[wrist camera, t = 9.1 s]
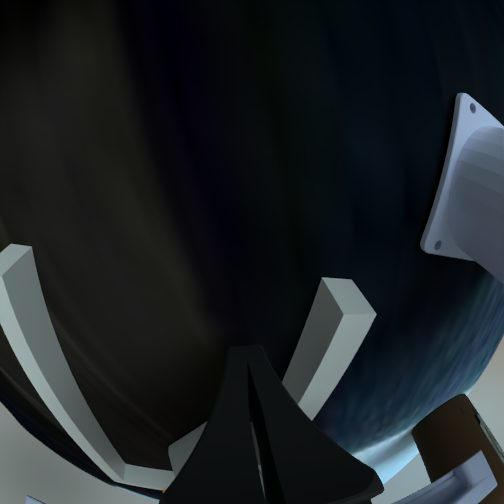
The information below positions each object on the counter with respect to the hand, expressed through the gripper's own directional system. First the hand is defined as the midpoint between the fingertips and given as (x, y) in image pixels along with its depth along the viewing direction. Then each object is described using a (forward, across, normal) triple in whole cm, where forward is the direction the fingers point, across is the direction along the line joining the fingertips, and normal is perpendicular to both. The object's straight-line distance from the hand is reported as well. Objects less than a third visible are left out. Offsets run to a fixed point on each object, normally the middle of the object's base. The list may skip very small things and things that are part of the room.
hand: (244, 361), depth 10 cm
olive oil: (+2, -27, +22) cm, 35 cm away
